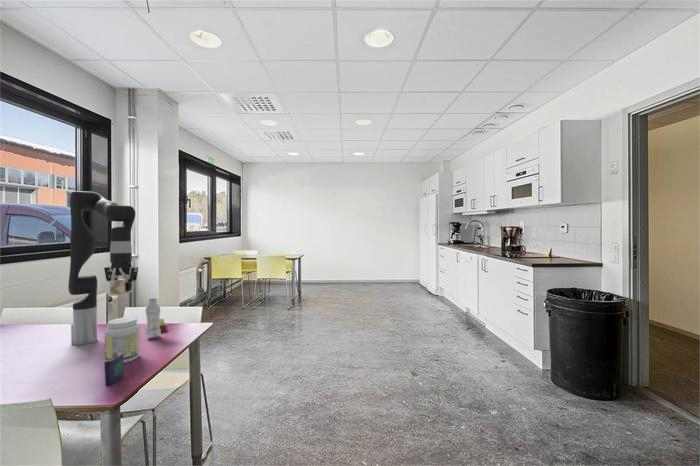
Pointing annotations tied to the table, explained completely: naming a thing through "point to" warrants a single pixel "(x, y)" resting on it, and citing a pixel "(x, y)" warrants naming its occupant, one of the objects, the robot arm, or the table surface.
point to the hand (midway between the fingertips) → (121, 291)
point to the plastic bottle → (153, 319)
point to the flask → (114, 369)
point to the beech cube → (118, 287)
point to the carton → (162, 325)
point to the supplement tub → (122, 338)
